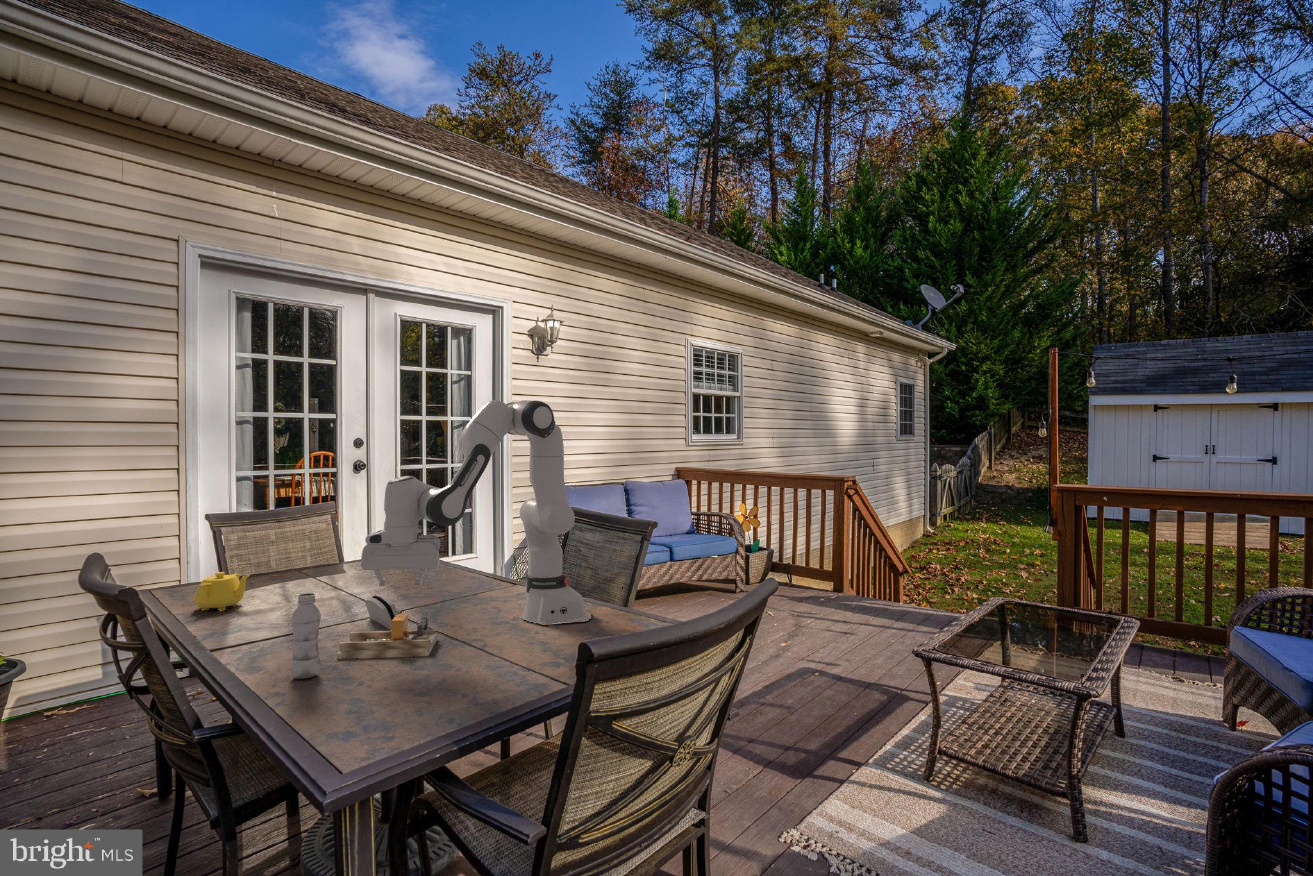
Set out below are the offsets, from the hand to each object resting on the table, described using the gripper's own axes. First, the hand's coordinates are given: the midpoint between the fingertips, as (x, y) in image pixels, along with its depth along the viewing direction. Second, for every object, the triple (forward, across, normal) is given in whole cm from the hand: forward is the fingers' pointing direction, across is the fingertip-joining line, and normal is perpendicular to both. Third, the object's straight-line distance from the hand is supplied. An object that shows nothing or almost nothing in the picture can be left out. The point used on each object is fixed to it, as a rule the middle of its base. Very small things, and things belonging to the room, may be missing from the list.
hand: (400, 585), depth 177 cm
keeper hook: (+16, -5, -3) cm, 17 cm away
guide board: (+18, +3, 0) cm, 18 cm away
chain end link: (+16, 0, 0) cm, 16 cm away
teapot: (+17, +66, -48) cm, 83 cm away
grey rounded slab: (+18, +10, -25) cm, 32 cm away
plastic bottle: (+18, +18, +19) cm, 31 cm away
